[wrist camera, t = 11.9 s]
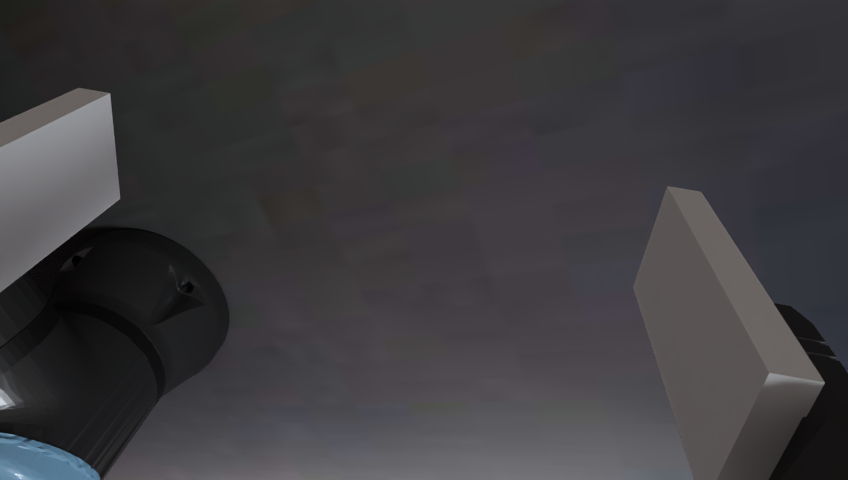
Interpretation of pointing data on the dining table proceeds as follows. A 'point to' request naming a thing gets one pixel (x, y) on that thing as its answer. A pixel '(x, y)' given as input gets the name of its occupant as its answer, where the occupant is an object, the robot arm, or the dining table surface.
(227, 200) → the dining table surface
